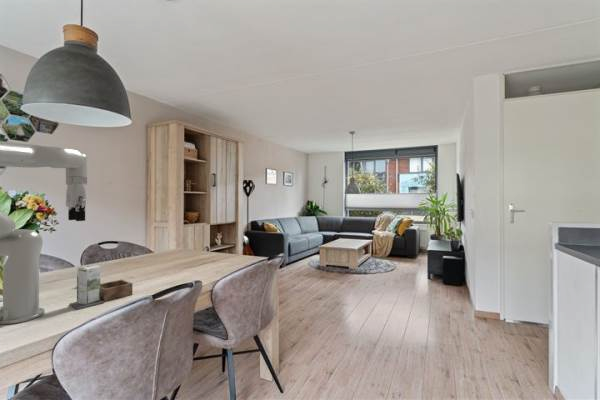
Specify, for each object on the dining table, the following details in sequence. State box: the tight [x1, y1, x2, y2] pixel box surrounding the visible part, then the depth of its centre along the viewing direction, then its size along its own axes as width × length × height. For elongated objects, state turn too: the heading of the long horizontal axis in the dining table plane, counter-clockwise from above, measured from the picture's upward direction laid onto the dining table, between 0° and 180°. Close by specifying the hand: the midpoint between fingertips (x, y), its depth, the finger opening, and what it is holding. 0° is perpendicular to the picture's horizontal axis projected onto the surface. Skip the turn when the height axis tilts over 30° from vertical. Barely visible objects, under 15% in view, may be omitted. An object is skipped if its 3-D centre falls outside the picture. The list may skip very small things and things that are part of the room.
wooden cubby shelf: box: [100, 279, 133, 303], centre depth 130 cm, size 11×11×5 cm
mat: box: [69, 300, 105, 311], centre depth 120 cm, size 9×9×1 cm
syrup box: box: [76, 264, 101, 305], centre depth 121 cm, size 6×6×14 cm
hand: (76, 220), depth 129 cm, fingers open, 9 cm apart
